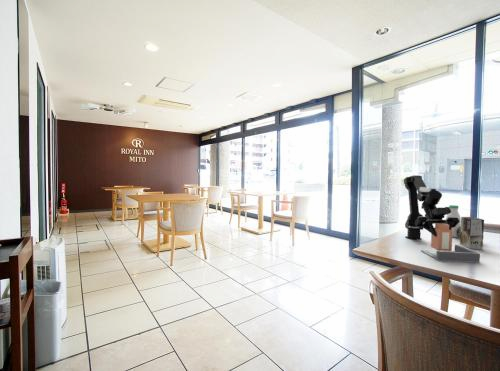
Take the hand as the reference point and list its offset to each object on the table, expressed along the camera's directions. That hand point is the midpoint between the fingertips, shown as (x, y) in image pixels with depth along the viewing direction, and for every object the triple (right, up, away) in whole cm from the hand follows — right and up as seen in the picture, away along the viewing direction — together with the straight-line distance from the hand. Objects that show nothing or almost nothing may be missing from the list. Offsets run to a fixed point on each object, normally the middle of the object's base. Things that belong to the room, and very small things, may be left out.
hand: (443, 236), depth 125 cm
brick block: (0, -7, +2) cm, 7 cm away
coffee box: (+28, -9, +17) cm, 35 cm away
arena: (+3, -10, 0) cm, 10 cm away
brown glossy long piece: (+37, -9, +29) cm, 48 cm away
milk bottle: (+37, -8, +41) cm, 55 cm away
